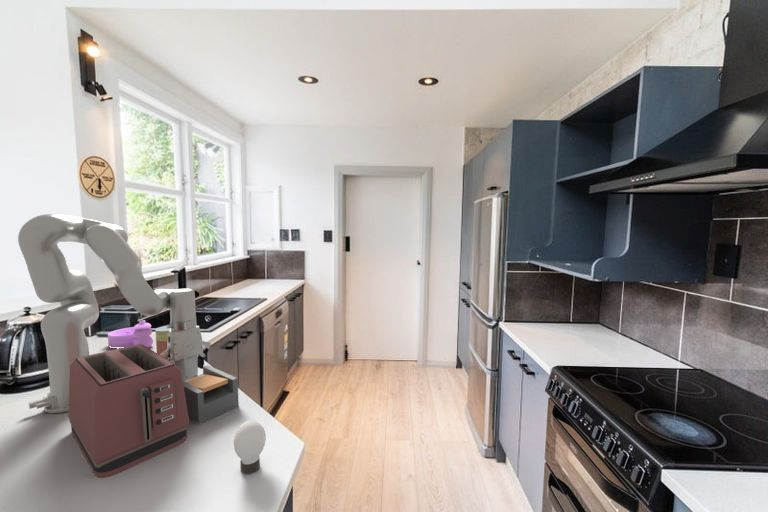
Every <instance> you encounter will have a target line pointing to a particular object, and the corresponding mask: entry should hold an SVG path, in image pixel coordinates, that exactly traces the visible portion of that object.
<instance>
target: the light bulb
mask: <svg viewBox="0 0 768 512" xmlns="http://www.w3.org/2000/svg"><path fill="white" fill-rule="evenodd" d="M265 446H266V430H265V428H264V426H263V424H262V423H261V422H259V421H258V420H255V419H249V420H246V421H244V422H243V423H242V424H241V425H239V426H238V427H237V430H236V431H235V434H234V438H233V447H234V448H233V449H234V452H235V453H236V456H237V457H238V458H239V459H240V464H239V465H240V472H241V473H242V474H253V473H256V472H257V471H258V470H260V468H261V467H260V465H261V461H260V460H261V458H260V455H261V453H262V452H263V450H264V447H265Z"/></svg>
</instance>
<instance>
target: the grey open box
mask: <svg viewBox="0 0 768 512" xmlns="http://www.w3.org/2000/svg"><path fill="white" fill-rule="evenodd" d="M202 374H207V375H211V376H216V377H220V378H225V379H228V383H227V384H225V385H222V386H219V387H217V388H214V389H212V390H209V391H207V392H204V393H203V391H202V390H200V389H198V388H196V387H194V386H192V385H191V384H189V383H187V382H185V381H183V386H184V392H185V399H186V405H187V411H188V417H189V420H191V421H193V420H194V421H193V422H195V423H196V422H197V424H198V425H201V424H203V423H205V422H207V421H209V420H212V419H214V418H216V417H218V416H220V415H222V413H223V414H224V412H225V413H227V412H229V411H231V410H233V409H235V408H238V407H239V382H238V381H239V379H238V377H237V376H234V375H231V374H230V373H226V371H222V370H219V369H217V368H215V367H212V366H211V365H209V364H208V365H203V369H202ZM228 410H229V411H228ZM226 411H227V412H226ZM200 423H201V424H200Z"/></svg>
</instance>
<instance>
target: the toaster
mask: <svg viewBox="0 0 768 512" xmlns="http://www.w3.org/2000/svg"><path fill="white" fill-rule="evenodd" d="M67 414H68V419H69V420H68V421H69V423H70V426H71V427H70V428H71V434H72V436H73V438H74V440H75V441H76V443H77V445H78V447H79V448H80V451H81V452H82V455H83V456H84V458H85V460H86V461H87V464H88V465H89V467H90V469H91V471H92V472H93V474H94V476H96V477H97V478H102V479H103V478H108V477H113V476H114V475H117V474H120V473H122V472H124V471H126V470H128V469H131V468H133V467H135V466H137V465H139V464H141V463H144V462H146V461H148V460H150V459H152V458H155V457H157V456H159V455H161V454H163V453H165V452H167V451H169V450H172V449H174V448H177V447H178V446H180V445H181V444H183V443H184V442H185V441H186V440H187V437H188V432H187V431H188V429H189V427H190V426H189V425H190V418H189V417H188V411H187V405H186V399H185V392H184V386H183V380H182V374H181V370H180V369H179V368H178V367H177V366H176V365H175V362H174V363H172V362H171V361H169V360H168V358H164V357H162V356H161V355H159V354H157V351H154V350H153V349H150V347H149V348H147V347H146V346H144V345H142V344H137V345H132V346H128V347H124V348H119V349H110V350H106V351H103V352H98V353H93V354H89V355H88V356H83V357H79V358H76V359H75V360H74V362H73V363H72V364H71V365H70V379H69V409H68V411H67Z"/></svg>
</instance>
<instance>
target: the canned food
mask: <svg viewBox="0 0 768 512" xmlns="http://www.w3.org/2000/svg"><path fill="white" fill-rule="evenodd" d="M154 330H155V345H156V348H155V349H156V353H157V354H161V353H162V352H163V351H165V350H166V349H167V342H168V334H169V330H171V329H170V328H168V329H167V327H166V325H162V326H159V327H156V328H155V329H154ZM164 358H166V359H168V355H166V356H165V357H164Z"/></svg>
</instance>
